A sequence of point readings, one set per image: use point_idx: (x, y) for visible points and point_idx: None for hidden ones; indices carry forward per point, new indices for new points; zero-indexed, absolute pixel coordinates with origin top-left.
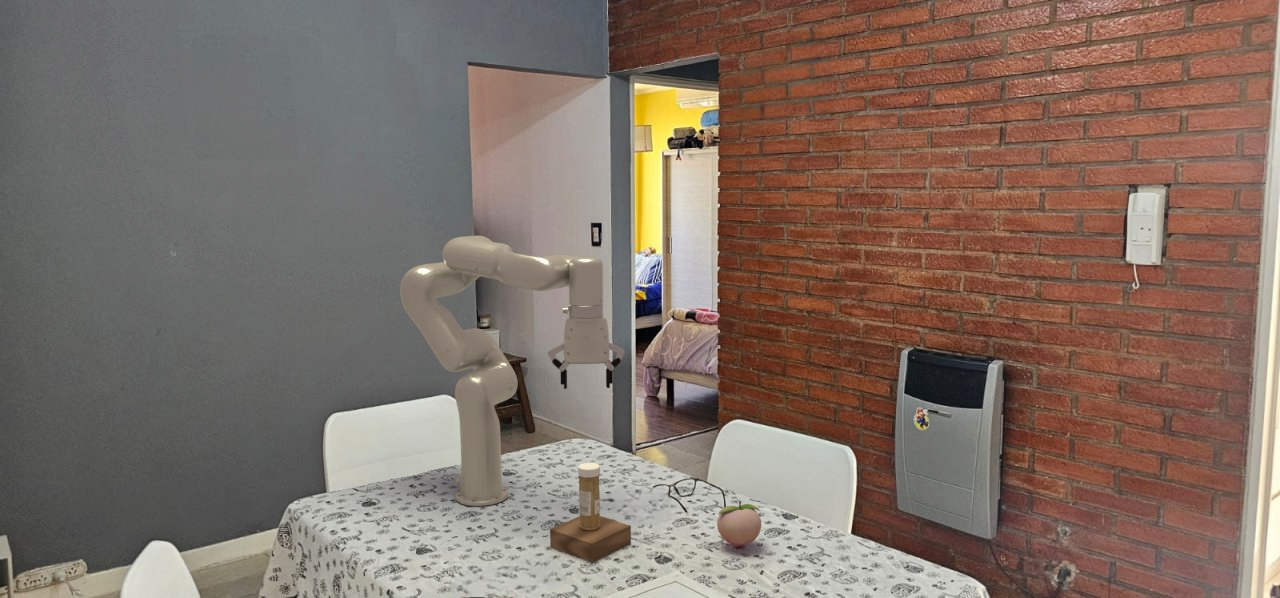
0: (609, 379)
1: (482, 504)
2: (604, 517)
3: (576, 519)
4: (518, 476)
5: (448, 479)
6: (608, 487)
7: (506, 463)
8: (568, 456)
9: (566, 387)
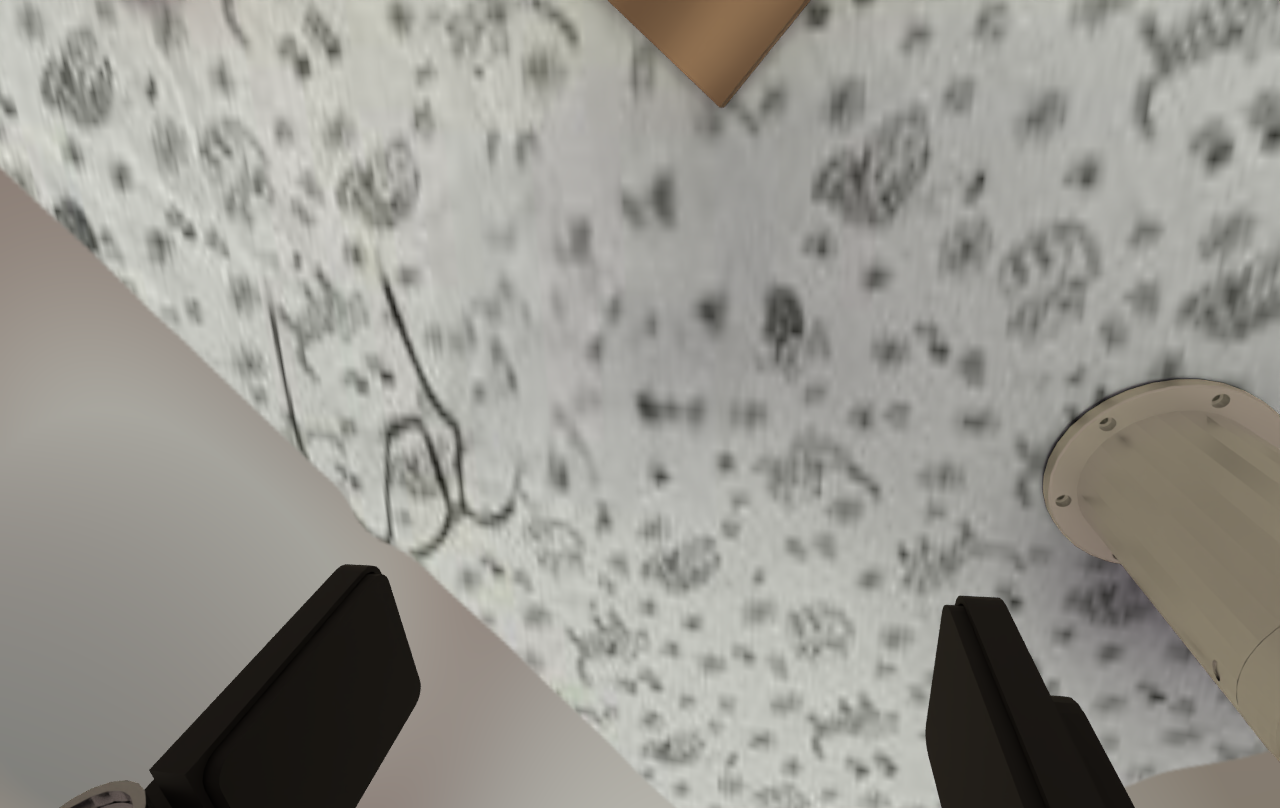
0: (269, 643)
1: (1175, 381)
2: (649, 38)
3: (780, 7)
4: None
5: None
6: (659, 516)
7: None
8: (793, 771)
9: (957, 611)
